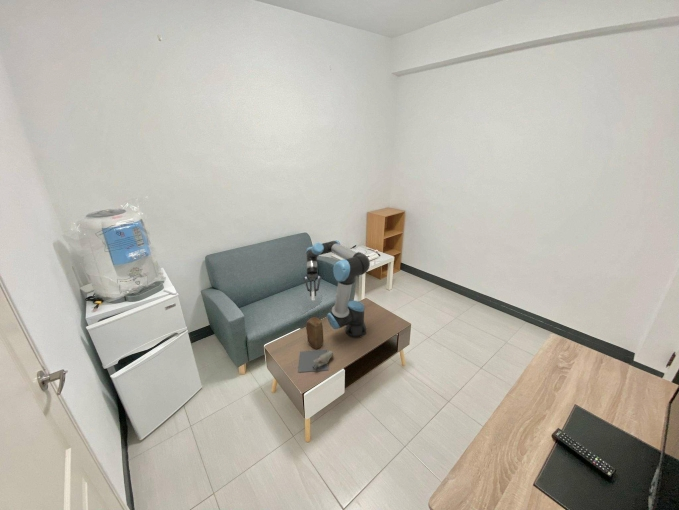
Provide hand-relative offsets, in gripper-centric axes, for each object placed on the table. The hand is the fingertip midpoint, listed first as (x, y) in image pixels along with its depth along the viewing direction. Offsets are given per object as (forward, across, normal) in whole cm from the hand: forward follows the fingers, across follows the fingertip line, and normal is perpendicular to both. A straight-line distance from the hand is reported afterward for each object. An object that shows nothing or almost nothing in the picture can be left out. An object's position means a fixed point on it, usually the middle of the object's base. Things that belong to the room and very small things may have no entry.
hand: (313, 300), depth 186 cm
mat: (+38, +1, +1) cm, 38 cm away
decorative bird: (+41, -5, +4) cm, 41 cm away
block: (+28, 0, -9) cm, 29 cm away
